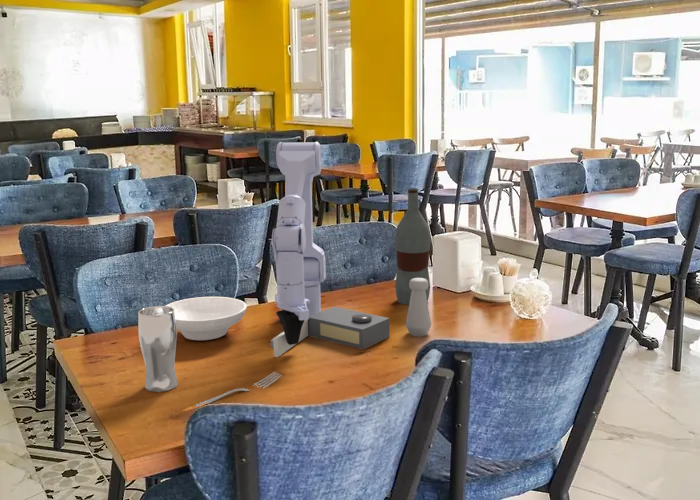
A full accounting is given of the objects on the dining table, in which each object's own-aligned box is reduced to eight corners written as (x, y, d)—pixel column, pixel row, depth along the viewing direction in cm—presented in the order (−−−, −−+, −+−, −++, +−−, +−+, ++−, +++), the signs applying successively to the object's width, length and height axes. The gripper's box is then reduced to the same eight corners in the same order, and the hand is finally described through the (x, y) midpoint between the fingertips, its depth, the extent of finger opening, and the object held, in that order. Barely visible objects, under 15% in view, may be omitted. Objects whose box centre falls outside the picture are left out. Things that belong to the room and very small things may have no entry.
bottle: (437, 300, 197) (438, 188, 191) (416, 307, 190) (417, 192, 184) (408, 294, 203) (409, 185, 197) (388, 301, 197) (387, 189, 190)
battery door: (301, 333, 171) (300, 317, 170) (309, 334, 170) (308, 318, 169) (269, 355, 157) (268, 337, 156) (278, 357, 156) (277, 338, 155)
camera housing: (307, 335, 170) (306, 313, 169) (334, 324, 178) (334, 303, 177) (362, 349, 160) (362, 326, 159) (389, 337, 168) (389, 314, 167)
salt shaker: (429, 338, 167) (430, 282, 164) (404, 337, 168) (404, 281, 165) (432, 330, 172) (432, 276, 170) (407, 329, 174) (407, 275, 171)
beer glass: (146, 379, 145) (140, 306, 142) (182, 378, 145) (177, 304, 142) (139, 394, 138) (133, 316, 135) (177, 392, 139) (172, 315, 135)
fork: (161, 415, 130) (161, 406, 129) (274, 379, 145) (273, 370, 145) (170, 421, 127) (170, 411, 127) (283, 383, 143) (283, 375, 143)
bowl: (265, 335, 171) (264, 306, 170) (195, 357, 157) (193, 326, 156) (213, 318, 184) (212, 292, 183) (144, 337, 170) (142, 309, 169)
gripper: (321, 287, 151) (323, 350, 154) (295, 272, 164) (297, 330, 166) (289, 291, 148) (292, 356, 151) (264, 276, 160) (267, 335, 163)
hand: (292, 343), depth 158 cm, fingers closed
